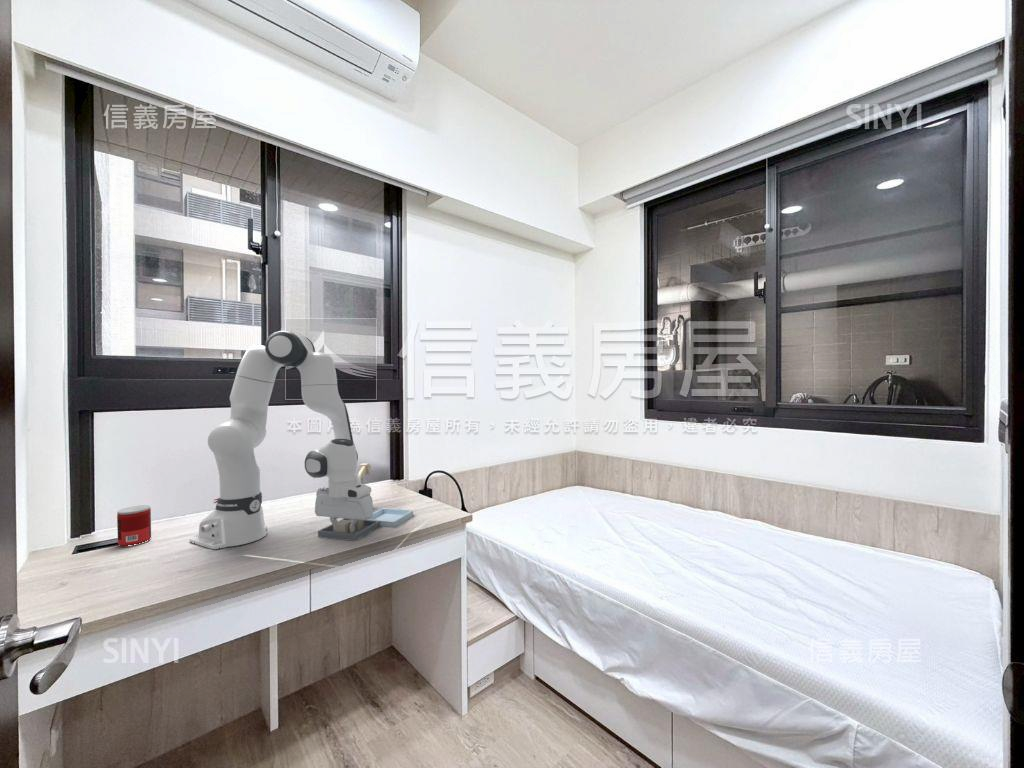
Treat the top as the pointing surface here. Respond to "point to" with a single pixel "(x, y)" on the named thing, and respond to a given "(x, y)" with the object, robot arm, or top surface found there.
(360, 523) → the tan cube
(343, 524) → the grey cube
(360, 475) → the toy excavator
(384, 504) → the top surface
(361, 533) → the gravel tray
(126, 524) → the canned food
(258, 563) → the top surface
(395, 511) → the blue tray
